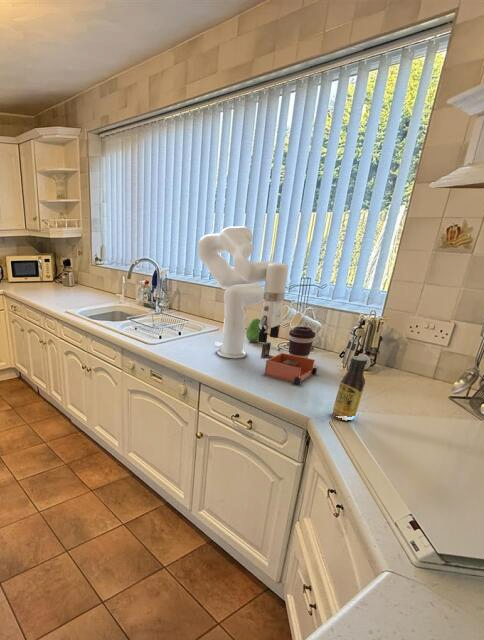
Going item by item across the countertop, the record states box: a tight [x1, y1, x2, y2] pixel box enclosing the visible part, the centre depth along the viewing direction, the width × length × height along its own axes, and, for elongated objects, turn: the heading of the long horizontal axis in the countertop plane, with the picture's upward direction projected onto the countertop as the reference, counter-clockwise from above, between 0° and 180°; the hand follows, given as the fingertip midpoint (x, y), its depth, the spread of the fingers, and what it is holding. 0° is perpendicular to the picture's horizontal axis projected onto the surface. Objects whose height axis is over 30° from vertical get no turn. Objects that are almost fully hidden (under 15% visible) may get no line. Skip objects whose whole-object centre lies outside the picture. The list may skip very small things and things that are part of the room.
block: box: [282, 360, 299, 367], centre depth 155 cm, size 4×4×4 cm
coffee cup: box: [288, 326, 316, 359], centre depth 167 cm, size 10×10×15 cm
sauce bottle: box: [332, 355, 368, 422], centre depth 118 cm, size 6×6×20 cm
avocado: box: [245, 318, 261, 343], centre depth 197 cm, size 8×8×12 cm
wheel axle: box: [293, 366, 318, 387], centre depth 151 cm, size 2×16×3 cm, turn 134°
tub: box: [260, 341, 316, 384], centre depth 155 cm, size 18×13×11 cm
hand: (268, 339), depth 158 cm, fingers open, 9 cm apart
